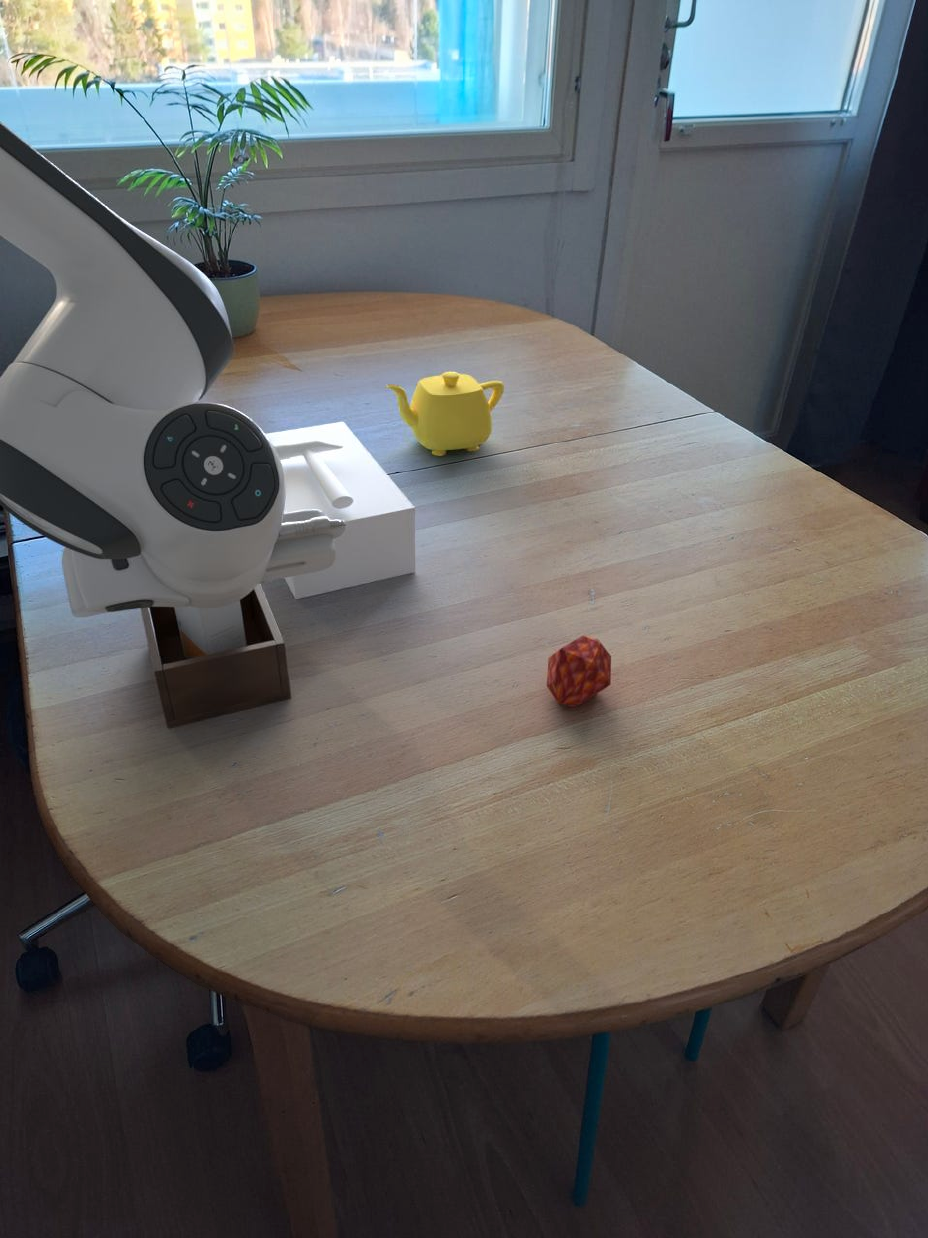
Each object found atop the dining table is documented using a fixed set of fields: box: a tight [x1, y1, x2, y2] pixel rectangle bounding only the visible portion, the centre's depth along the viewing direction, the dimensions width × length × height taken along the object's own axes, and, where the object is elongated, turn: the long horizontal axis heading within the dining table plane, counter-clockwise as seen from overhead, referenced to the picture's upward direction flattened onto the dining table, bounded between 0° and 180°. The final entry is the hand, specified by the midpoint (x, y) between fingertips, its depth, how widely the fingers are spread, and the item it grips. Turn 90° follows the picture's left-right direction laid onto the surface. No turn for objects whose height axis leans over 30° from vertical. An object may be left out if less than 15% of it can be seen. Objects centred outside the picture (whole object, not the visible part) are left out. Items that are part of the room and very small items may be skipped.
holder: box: [139, 583, 292, 729], centre depth 85 cm, size 12×14×7 cm
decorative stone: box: [546, 635, 612, 708], centre depth 84 cm, size 6×7×8 cm
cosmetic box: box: [174, 600, 247, 659], centre depth 83 cm, size 6×4×12 cm
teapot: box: [385, 371, 505, 457], centre depth 128 cm, size 18×11×11 cm, turn 110°
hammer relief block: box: [265, 421, 416, 600], centre depth 106 cm, size 14×25×11 cm, turn 25°
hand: (203, 584), depth 74 cm, fingers open, 8 cm apart
